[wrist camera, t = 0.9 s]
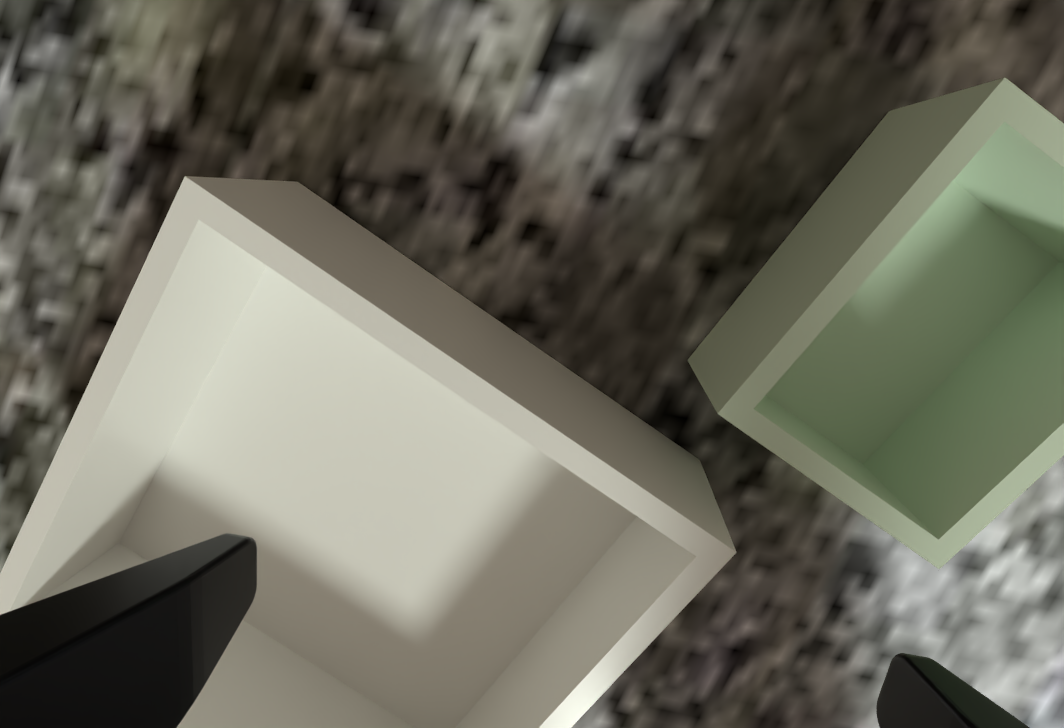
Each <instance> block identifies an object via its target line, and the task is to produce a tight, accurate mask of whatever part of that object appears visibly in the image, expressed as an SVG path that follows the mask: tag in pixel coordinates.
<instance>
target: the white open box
mask: <svg viewBox="0 0 1064 728" xmlns="http://www.w3.org/2000/svg"><path fill="white" fill-rule="evenodd" d="M225 533H231V534H237V535H243V536H248V537H252V538H253V539H254V540H255V541H256V544H257V589H256V594H255V597H254V600H253V602H252V604H251V606H250V608H249V610H248V611H247V613H246V615H245V617H244V618H243V620H242V622H241V623H240V625H239V627H238V629H237V630H236V632H235V634H234V636H233V637H232V639H231V641H230V642H229V644H228V646H227V648H226V649H225V651H224V653H223V655H222V656H221V658H220V660H219V661H218V663H217V665H216V667H215V668H214V670H213V672H212V673H211V675H210V677H209V679H208V680H207V682H206V684H205V686H204V687H203V689H202V690H201V692H200V694H199V695H198V697H197V699H196V700H195V702H194V703H193V705H192V706H191V708H190V709H189V711H188V712H187V714H186V715H185V717H184V718H183V719H182V721H181V722H180V724H179V725H178V727H177V728H571V727H572V726H573V725H574V724H575V723H576V722H577V721H578V720H579V719H580V717H581V716H582V715H583V714H584V713H585V712H586V711H587V710H588V709H589V708H590V707H591V706H592V705H593V704H594V703H595V702H596V701H597V700H598V698H599V697H600V696H601V695H602V694H603V693H604V692H605V691H606V690H607V689H608V688H609V687H610V686H611V685H612V684H613V683H614V682H615V680H616V679H617V678H618V677H619V676H620V675H621V674H622V673H623V672H624V671H625V670H626V669H627V668H628V667H629V666H630V665H631V664H632V663H633V661H634V660H635V659H636V658H637V657H638V656H639V655H640V654H641V653H642V652H643V651H644V650H645V649H646V648H647V647H648V646H649V645H650V643H651V642H652V641H653V640H654V639H655V638H656V637H657V636H658V635H659V634H660V633H661V632H662V631H663V630H664V629H665V628H666V627H667V626H668V624H669V623H670V622H671V621H672V620H673V619H674V618H675V617H676V616H677V615H678V614H679V613H680V612H681V611H682V610H683V609H684V608H685V606H686V605H687V604H688V603H689V602H690V601H691V600H692V599H693V598H694V597H695V596H696V595H697V594H698V593H699V592H700V591H701V590H702V588H703V587H704V586H705V585H706V584H707V583H708V582H709V581H710V580H711V579H712V578H713V577H714V576H715V575H716V574H717V573H718V572H719V571H720V569H721V568H722V567H723V566H724V565H725V564H726V563H727V562H728V561H729V560H730V559H731V558H732V557H733V556H734V555H735V554H736V553H737V552H736V550H735V547H734V545H733V542H732V540H731V537H730V534H729V532H728V529H727V527H726V524H725V522H724V519H723V517H722V514H721V512H720V509H719V507H718V504H717V502H716V499H715V497H714V494H713V492H712V489H711V487H710V484H709V482H708V479H707V477H706V474H705V472H704V469H703V467H702V464H701V462H700V460H699V459H698V458H696V457H695V456H693V455H692V454H690V453H689V452H688V451H686V450H685V449H683V448H682V447H680V446H679V445H677V444H676V443H675V442H673V441H672V440H670V439H669V438H667V437H666V436H664V435H663V434H662V433H660V432H659V431H657V430H656V429H654V428H653V427H651V426H650V425H649V424H647V423H646V422H644V421H643V420H641V419H640V418H638V417H637V416H635V415H634V414H633V413H631V412H630V411H628V410H627V409H625V408H624V407H622V406H621V405H620V404H618V403H617V402H615V401H614V400H612V399H611V398H609V397H608V396H607V395H605V394H604V393H602V392H601V391H599V390H598V389H596V388H595V387H594V386H592V385H591V384H589V383H588V382H586V381H585V380H583V379H582V378H581V377H579V376H578V375H576V374H575V373H573V372H572V371H570V370H569V369H568V368H566V367H565V366H563V365H562V364H560V363H559V362H557V361H556V360H555V359H553V358H552V357H550V356H549V355H547V354H546V353H544V352H543V351H542V350H540V349H539V348H537V347H536V346H534V345H533V344H531V343H530V342H529V341H527V340H526V339H524V338H523V337H521V336H520V335H518V334H517V333H516V332H514V331H513V330H511V329H510V328H508V327H507V326H505V325H504V324H503V323H501V322H500V321H498V320H497V319H495V318H494V317H492V316H491V315H490V314H488V313H487V312H485V311H484V310H482V309H481V308H479V307H478V306H477V305H475V304H474V303H472V302H471V301H469V300H468V299H466V298H465V297H464V296H462V295H461V294H459V293H458V292H456V291H455V290H453V289H452V288H451V287H449V286H448V285H446V284H445V283H443V282H442V281H440V280H439V279H438V278H436V277H435V276H433V275H432V274H430V273H429V272H427V271H426V270H425V269H423V268H422V267H420V266H419V265H417V264H416V263H414V262H413V261H412V260H410V259H409V258H407V257H406V256H404V255H403V254H401V253H400V252H399V251H397V250H396V249H394V248H393V247H391V246H390V245H388V244H387V243H386V242H384V241H383V240H381V239H380V238H378V237H377V236H375V235H374V234H373V233H371V232H370V231H368V230H367V229H365V228H364V227H362V226H361V225H360V224H358V223H357V222H355V221H354V220H352V219H351V218H349V217H348V216H347V215H345V214H344V213H342V212H341V211H339V210H338V209H336V208H335V207H334V206H332V205H331V204H329V203H328V202H326V201H325V200H323V199H322V198H321V197H319V196H318V195H316V194H315V193H313V192H312V191H310V190H309V189H308V188H306V187H305V186H303V185H302V184H300V183H299V182H294V181H274V180H253V179H233V178H213V177H193V176H185V177H184V179H183V181H182V183H181V186H180V188H179V190H178V192H177V194H176V196H175V199H174V201H173V203H172V205H171V207H170V209H169V211H168V214H167V216H166V218H165V220H164V222H163V224H162V227H161V229H160V231H159V233H158V235H157V237H156V239H155V242H154V244H153V246H152V248H151V250H150V252H149V255H148V257H147V259H146V261H145V263H144V265H143V267H142V270H141V272H140V274H139V276H138V278H137V280H136V283H135V285H134V287H133V289H132V291H131V293H130V295H129V298H128V300H127V302H126V304H125V306H124V308H123V311H122V313H121V315H120V317H119V319H118V321H117V323H116V326H115V328H114V330H113V332H112V334H111V336H110V338H109V341H108V343H107V345H106V347H105V349H104V351H103V354H102V356H101V358H100V360H99V362H98V364H97V366H96V369H95V371H94V373H93V375H92V377H91V379H90V382H89V384H88V386H87V388H86V390H85V392H84V394H83V397H82V399H81V401H80V403H79V405H78V407H77V410H76V412H75V414H74V416H73V418H72V420H71V422H70V425H69V427H68V429H67V431H66V433H65V435H64V438H63V440H62V442H61V444H60V446H59V448H58V450H57V453H56V455H55V457H54V459H53V461H52V463H51V465H50V468H49V470H48V472H47V474H46V476H45V478H44V481H43V483H42V485H41V487H40V489H39V491H38V493H37V496H36V498H35V500H34V502H33V504H32V506H31V509H30V511H29V513H28V515H27V517H26V519H25V521H24V524H23V526H22V528H21V530H20V532H19V534H18V537H17V539H16V541H15V543H14V545H13V547H12V549H11V552H10V554H9V556H8V558H7V560H6V562H5V565H4V567H3V569H2V571H1V573H0V615H1V614H4V613H6V612H9V611H12V610H15V609H17V608H20V607H23V606H26V605H29V604H31V603H34V602H37V601H40V600H42V599H45V598H48V597H51V596H53V595H56V594H59V593H62V592H64V591H67V590H70V589H73V588H75V587H78V586H81V585H84V584H86V583H89V582H92V581H95V580H98V579H100V578H103V577H106V576H109V575H111V574H114V573H117V572H120V571H122V570H125V569H128V568H131V567H133V566H136V565H139V564H142V563H144V562H147V561H150V560H153V559H156V558H158V557H161V556H164V555H167V554H169V553H172V552H175V551H178V550H180V549H183V548H186V547H189V546H191V545H194V544H197V543H200V542H202V541H205V540H208V539H211V538H214V537H216V536H219V535H222V534H225Z"/></svg>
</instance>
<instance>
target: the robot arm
mask: <svg viewBox="0 0 1064 728" xmlns="http://www.w3.org/2000/svg"><path fill="white" fill-rule="evenodd" d="M256 589H257V544H256V541H255V540H254V539H253V538H252V537H248V536H243V535H237V534H231V533H225V534H222V535H219V536H216V537H214V538H211V539H208V540H205V541H202V542H200V543H197V544H194V545H191V546H189V547H186V548H183V549H180V550H178V551H175V552H172V553H169V554H167V555H164V556H161V557H158V558H156V559H153V560H150V561H147V562H144V563H142V564H139V565H136V566H133V567H131V568H128V569H125V570H122V571H120V572H117V573H114V574H111V575H109V576H106V577H103V578H100V579H98V580H95V581H92V582H89V583H86V584H84V585H81V586H78V587H75V588H73V589H70V590H67V591H64V592H62V593H59V594H56V595H53V596H51V597H48V598H45V599H42V600H40V601H37V602H34V603H31V604H29V605H26V606H23V607H20V608H17V609H15V610H12V611H9V612H6V613H4V614H1V615H0V728H177V727H178V725H179V724H180V722H181V721H182V719H183V718H184V717H185V715H186V714H187V712H188V711H189V709H190V708H191V706H192V705H193V703H194V702H195V700H196V699H197V697H198V695H199V694H200V692H201V690H202V689H203V687H204V686H205V684H206V682H207V680H208V679H209V677H210V675H211V673H212V672H213V670H214V668H215V667H216V665H217V663H218V661H219V660H220V658H221V656H222V655H223V653H224V651H225V649H226V648H227V646H228V644H229V642H230V641H231V639H232V637H233V636H234V634H235V632H236V630H237V629H238V627H239V625H240V623H241V622H242V620H243V618H244V617H245V615H246V613H247V611H248V610H249V608H250V606H251V604H252V602H253V600H254V597H255V594H256ZM877 718H878V723H879V726H880V728H1029V727H1028V726H1027V725H1025V724H1024V723H1022V722H1021V721H1020V720H1018V719H1017V718H1015V717H1014V716H1012V715H1011V714H1010V713H1008V712H1007V711H1005V710H1004V709H1003V708H1001V707H1000V706H998V705H997V704H995V703H994V702H993V701H991V700H990V699H988V698H987V697H985V696H984V695H983V694H981V693H980V692H978V691H977V690H976V689H974V688H973V687H971V686H970V685H968V684H967V683H966V682H964V681H963V680H961V679H960V678H959V677H957V676H956V675H954V674H953V673H951V672H950V671H949V670H947V669H946V668H944V667H943V666H941V665H940V664H939V663H937V662H936V661H934V660H933V659H930V658H927V657H922V656H916V655H911V654H905V653H900V654H897V655H896V656H895V657H894V658H893V659H892V661H891V663H890V666H889V669H888V672H887V675H886V677H885V680H884V683H883V686H882V689H881V691H880V694H879V697H878V701H877Z"/></svg>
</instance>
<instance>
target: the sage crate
mask: <svg viewBox="0 0 1064 728" xmlns="http://www.w3.org/2000/svg"><path fill="white" fill-rule="evenodd" d="M687 361H688V362H689V364H690V366H691V368H692V370H693V371H694V373H695V375H696V377H697V378H698V380H699V382H700V384H701V386H702V387H703V389H704V391H705V393H706V394H707V396H708V398H709V400H710V401H711V403H712V405H713V407H714V409H715V410H716V412H717V414H718V415H720V416H721V417H723V418H724V419H726V420H727V421H728V422H730V423H731V424H733V425H734V426H736V427H737V428H738V429H740V430H741V431H743V432H744V433H746V434H747V435H748V436H750V437H751V438H753V439H754V440H756V441H757V442H758V443H760V444H761V445H763V446H764V447H766V448H767V449H768V450H770V451H771V452H773V453H774V454H776V455H777V456H778V457H780V458H781V459H783V460H784V461H786V462H787V463H788V464H790V465H791V466H793V467H794V468H796V469H797V470H798V471H800V472H801V473H803V474H804V475H805V476H807V477H808V478H810V479H811V480H813V481H814V482H815V483H817V484H818V485H820V486H821V487H823V488H824V489H825V490H827V491H828V492H830V493H831V494H833V495H834V496H835V497H837V498H838V499H840V500H841V501H843V502H844V503H845V504H847V505H848V506H850V507H851V508H853V509H854V510H855V511H857V512H858V513H860V514H861V515H863V516H864V517H865V518H867V519H868V520H870V521H871V522H873V523H874V524H875V525H877V526H878V527H880V528H881V529H883V530H884V531H885V532H887V533H888V534H890V535H891V536H893V537H894V538H895V539H897V540H898V541H900V542H901V543H903V544H904V545H905V546H907V547H908V548H910V549H911V550H912V551H914V552H915V553H917V554H918V555H920V556H921V557H922V558H924V559H925V560H927V561H928V562H930V563H931V564H932V565H934V566H935V567H937V568H938V569H940V568H941V567H942V566H943V565H944V564H945V563H947V562H948V561H949V560H950V559H951V558H952V557H953V556H954V555H955V554H956V553H957V552H959V551H960V550H961V549H962V548H963V547H964V546H965V545H966V544H967V543H968V542H969V541H971V540H972V539H973V538H974V537H975V536H976V535H977V534H978V533H979V532H980V531H981V530H983V529H984V528H985V527H986V526H987V525H988V524H989V523H990V522H991V521H992V520H993V519H995V518H996V517H997V516H998V515H999V514H1000V513H1001V512H1002V511H1003V510H1004V509H1006V508H1007V507H1008V506H1009V505H1010V504H1011V503H1012V502H1013V501H1014V500H1015V499H1016V498H1018V497H1019V496H1020V495H1021V494H1022V493H1023V492H1024V491H1025V490H1026V489H1027V488H1028V487H1030V486H1031V485H1032V484H1033V483H1034V482H1035V481H1036V480H1037V479H1038V478H1039V477H1040V476H1042V475H1043V474H1044V473H1045V472H1046V471H1047V470H1048V469H1049V468H1050V467H1051V466H1052V465H1054V464H1055V463H1056V462H1057V461H1058V460H1059V459H1060V458H1061V457H1062V456H1063V455H1064V123H1062V122H1061V121H1060V120H1059V119H1057V118H1056V117H1055V116H1053V115H1052V114H1051V113H1050V112H1048V111H1047V110H1046V109H1045V108H1043V107H1042V106H1041V105H1039V104H1038V103H1037V102H1036V101H1034V100H1033V99H1032V98H1031V97H1029V96H1028V95H1027V94H1025V93H1024V92H1023V91H1022V90H1020V89H1019V88H1018V87H1017V86H1015V85H1014V84H1013V83H1011V82H1010V81H1009V80H1008V79H1006V78H1001V79H998V80H994V81H991V82H987V83H984V84H981V85H977V86H974V87H970V88H967V89H963V90H960V91H956V92H953V93H949V94H946V95H943V96H939V97H936V98H932V99H929V100H925V101H922V102H918V103H915V104H911V105H908V106H905V107H901V108H898V109H894V110H891V111H889V112H888V113H887V114H886V115H885V117H884V118H883V119H882V120H881V122H880V123H879V124H878V125H877V127H876V128H875V129H874V130H873V131H872V133H871V134H870V135H869V136H868V138H867V139H866V140H865V141H864V143H863V144H862V145H861V146H860V148H859V149H858V150H857V151H856V152H855V154H854V155H853V156H852V157H851V159H850V160H849V161H848V162H847V164H846V165H845V166H844V167H843V169H842V170H841V171H840V172H839V173H838V175H837V176H836V177H835V178H834V180H833V181H832V182H831V183H830V185H829V186H828V187H827V188H826V190H825V191H824V192H823V193H822V194H821V196H820V197H819V198H818V199H817V201H816V202H815V203H814V204H813V206H812V207H811V208H810V209H809V211H808V212H807V213H806V214H805V215H804V217H803V218H802V219H801V220H800V222H799V223H798V224H797V225H796V227H795V228H794V229H793V230H792V232H791V233H790V234H789V235H788V236H787V238H786V239H785V240H784V241H783V243H782V244H781V245H780V246H779V248H778V249H777V250H776V251H775V252H774V254H773V255H772V256H771V257H770V259H769V260H768V261H767V262H766V264H765V265H764V266H763V267H762V269H761V270H760V271H759V272H758V273H757V275H756V276H755V277H754V278H753V280H752V281H751V282H750V283H749V285H748V286H747V287H746V288H745V290H744V291H743V292H742V293H741V294H740V296H739V297H738V298H737V299H736V301H735V302H734V303H733V304H732V306H731V307H730V308H729V309H728V311H727V312H726V313H725V314H724V315H723V317H722V318H721V319H720V320H719V322H718V323H717V324H716V325H715V327H714V328H713V329H712V330H711V332H710V333H709V334H708V335H707V336H706V338H705V339H704V340H703V341H702V343H701V344H700V345H699V346H698V348H697V349H696V350H695V351H694V353H693V354H692V355H691V356H690V357H689V359H688V360H687Z"/></svg>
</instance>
